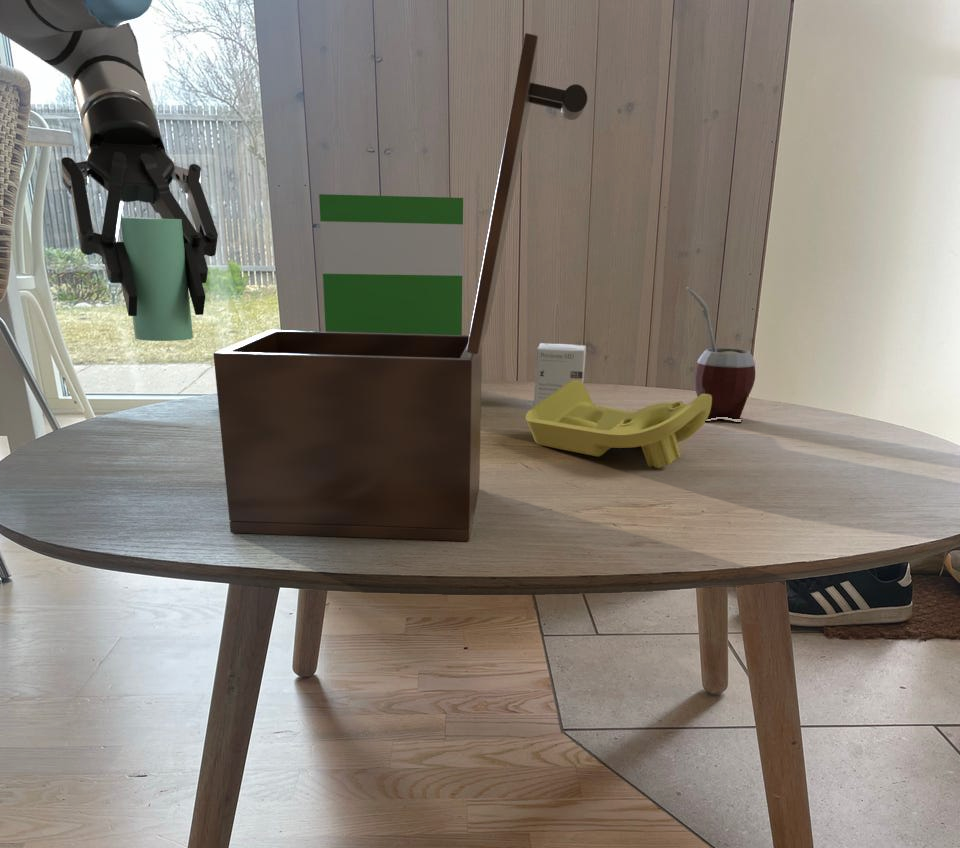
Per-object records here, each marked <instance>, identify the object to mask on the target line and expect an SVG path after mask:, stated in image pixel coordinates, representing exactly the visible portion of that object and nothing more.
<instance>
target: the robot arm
mask: <svg viewBox="0 0 960 848" xmlns="http://www.w3.org/2000/svg"><path fill="white" fill-rule="evenodd" d="M152 2H153V0H0V34H1V35H3V36H5V37H6V38H8V39H9V40H10V41H12V42H14V43H15V44H16V45H19V46H20V47H22V48H24V50H26V51H28V52H29V53H31V54H33V55H34V56H35V57H37V58H38V59H40V60H41V61H43V62H44V63H46V64H48V65H49V66H51V67H52V68H54V69H55V70H56V71H58V72H60V73H61V74H63V75H64V76H65V77H67V78H68V79H69V81H70V84H71V89H72V92H73V96H74V99H75V103H76V106H77V111H78V114H79V120H80V125H81V127H82V134H83V137H84V141H85V145H86V149H87V153H88V154H87V155H86V159H85V161H79V162H76V161H75V160H74V159H73V158H71V157H69V156H64V157H62V158H61V160H60V164H61V165H60V166H61V180H62V183H63V185H64V186H65V188H66V189H67V191H68V193H69V194H70V195H71V201H72V206H73V213H74V219H75V224H76V231H77V236H78V243H79V249H80V252H81V253H82V254H84V255H86V256H91V255H93V254H96V255H98V256H100V257H101V263H102V264H103V265H104V268H105V272H106V277H107V279H108V281H109V282H110V283H111V284H120V286H121V291H122V296H123V299H124V303H125V308H126V312H127V315H128V317H132V316H137V293H136V289H135V285H134V281H133V277H132V273H131V269H130V265H129V261H128V257H127V253H126V249H125V245H124V242H123V241H118V238H119V231H120V226H121V220H120V218H122V213H123V208H124V203H131V202H143V203H146V204H147V203H149V204H150V206H151V208H152V209H153V211H154V212H155V213H156V214H158V215H159V216H160V217H161V219H181V220H182V230H183V240H184V250H185V261H186V271H187V281H188V291H189V297H190V299H191V300H190V301H191V303H192V307H193V311H194V314H195V316H204V311H205V303H206V293H205V289H204V285H203V284H207V281H208V274H209V267H208V264H207V261H206V257H205V256H207V257H215V256H216V253H217V247H218V239H219V237H218V236H219V234H218V230H217V227H216V225H215V222H214V219H213V216H212V213H211V210H210V207H209V204H208V202H207V198H206V196H205V193H204V190H203V187H202V184H201V177H202V168H201V166H200V165H198V164H196V163H191V164H189V166H188V168H185V167H180V166H177V165H175V162H174V161H173V160H172V158H170V157H169V155H168V154H167V152H166V147H165V143H164V141H163V137H162V133H161V129H160V126H159V121H158V119H157V115H156V111H155V107H154V104H153V101H152V97H151V94H150V91H149V87H148V83H147V81H146V77H145V74H144V70H143V66H142V61H141V57H140V53H139V52H140V51H139V46H138V45H139V44H138V40H137V37H136V35H135V33H134V30H133V29H132V26H131V24H130V22H133V21H136V20H139V19H140V18H141V17H143V16H144V15H145V14H146V12H148V10H149V9H150V8H151V5H152ZM89 177H90V178H92V179H93V181H95V182H96V183H97V184H99V185H100V186H101V187H102V188H103V189H105V190H106V191H107V197H106V204H105V209H104V216H103V223H102V228H101V229H102V230H101V233H98V232H94V227H93V221H92V216H91V209H90V205H89V198H88V193H87V186H88V185H89ZM173 181H175V182H176V183H178V186H179V189H181V193H182V194H185V195H186V196H185V197H186V203H187V207H188V209H189V212H190V216H191V219H192V221H193V224H194V225H193V224H192V222H191V221H190V219H189V218H188V216H187V215H186V213H185V211H184V210H183V208H182V207H181V205H180V204H179V203H178V200H177V199H176V198H175V196H174V195H173V193H172V192H171V188H170V185H171V183H173Z"/></svg>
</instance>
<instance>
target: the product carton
mask: <svg viewBox="0 0 960 848" xmlns="http://www.w3.org/2000/svg"><path fill="white" fill-rule="evenodd" d="M586 353H587V345H586V344H570V343H569V344H568V343H567V344H566V343H547V342H546V343H545V342H540V343H539V345H538V347H537V348H536V358H535V377H534V378H535V379H534V391H533V392H534V393H533V394H534V395H533V407H534V406H536V405H537V404H538V403H540V402H541V401H543V400H544V399H545V398H547V397H548V396H550V395H551V394H552V393H554V392H555V391H556V390H558V389H559V388H561V387H562V386H563V385H565V384H566V383H568V382H569V381H570V380H578V381H580V382H582V383H583V384H584V380H585V367H586V366H585V365H586Z"/></svg>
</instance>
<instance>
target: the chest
mask: <svg viewBox="0 0 960 848" xmlns="http://www.w3.org/2000/svg"><path fill="white" fill-rule="evenodd" d="M469 335H470V334H469ZM469 335H468V334H462V335H438V334H401V333H363V332H326V330H324V331H323V330H317V331H316V330H287V329H286V330H285V329H284V330H283V329H268V330H266V331H264V332H260V333H259V334H256V335H254V336H252V337H249V338H247V339H244V340H242V341H239V342H237V343H234V344H232V345H230V346H227V347H225V348H222V349H221V350H218V351H216V352H214V353H213V362H214V374H215V385H216V396H217V405H218V413H219V414H218V416H219V425H220V427H219V428H220V436H221V437H220V438H221V448H222V456H223V457H222V458H223V469H224V478H225V488H226V499H227V511H228V520H229V531H230V534H250V535H253V534H254V535H277V536H278V535H279V536H308V537H310V536H311V537H334V538H335V537H336V538H337V537H339V538H367V539H393V540H394V539H395V540H419V541H420V540H421V541H422V540H423V541H455V542H469V541H470V539H471V533H472V529H473V523H474V517H475V513H476V509H477V508H476V507H477V502H478V496H479V492H480V476H481V474H480V473H481V472H480V471H481V425H482V422H481V421H482V375H483V374H482V373H483V370H482V369H483V365H482V364H483V344H482V345H481V347H480V350H479V352H478V354H474V353H469V352H467V346H468V341H469Z"/></svg>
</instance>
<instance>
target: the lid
mask: <svg viewBox="0 0 960 848" xmlns="http://www.w3.org/2000/svg"><path fill="white" fill-rule="evenodd" d="M538 41H539V36H538V35H537V34H532V33H528V32H525V33H524V36H523V42H522V47H521V52H520V59H519V63H518V69H517V74H516V80H515V84H514V91H513V97H512V102H511V107H510V113H509V118H508V124H507V127H506V134H505V140H504V145H503V151H502V155H501V162H500V167H499V171H498V172H499V173H498V178H497V184H496V188H495V194H494V200H493V205H492V209H491V210H492V211H491V216H490V220H489V226H488V233H487V237H486V242H485V243H486V244H485V249H484V255H483V260H482V265H481V271H480V275H479V282H478V287H477V292H476V298H475V304H474V310H473V315H472V319H471V325H470V331H469V341H468V346H467V352H469V353H474V354H478V352H479V350H480V347H481V345H482V346H483V342H484V340H485V337H486V335H487V333H488V329H489V323H490V319H491V314H492V310H493V309H492V307H493V302H494V298H495V294H496V293H495V291H496V287H497V283H498V277H499V272H500V266H501V261H502V255H503V250H504V245H505V240H506V236H507V235H506V234H507V230H508V225H509V220H510V214H511V210H512V209H511V208H512V204H513V203H512V202H513V197H514V193H515V187H516V183H517V177H518V173H519V172H518V171H519V167H520V161H521V156H522V151H523V147H524V140H525V135H526V130H527V124H528V120H529V115H530V110H531V105H537V106H540V107H546V108H550V109H555V110H558V111H559V110H560V112H561V114H562V116H563V118H565V119H566V120H569V121H574V120H577V119H578V118H580V117H581V116H582V114H583V112H584V110H585V108H586V106H587V103H588V93H587V92H588V91H587V90H586V88H585V87H583V86H582V85H580V84H577V83H576V84H575V83H574V84H571V85H569V86H568V87H566V89H561V88H557V87H553V86H548V85H545V84H544V85H543V84H539V83H535V82H536V77H537V71H538V70H537V69H538V67H537V66H538V48H539V47H538V45H539V44H538V43H539V42H538Z"/></svg>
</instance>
